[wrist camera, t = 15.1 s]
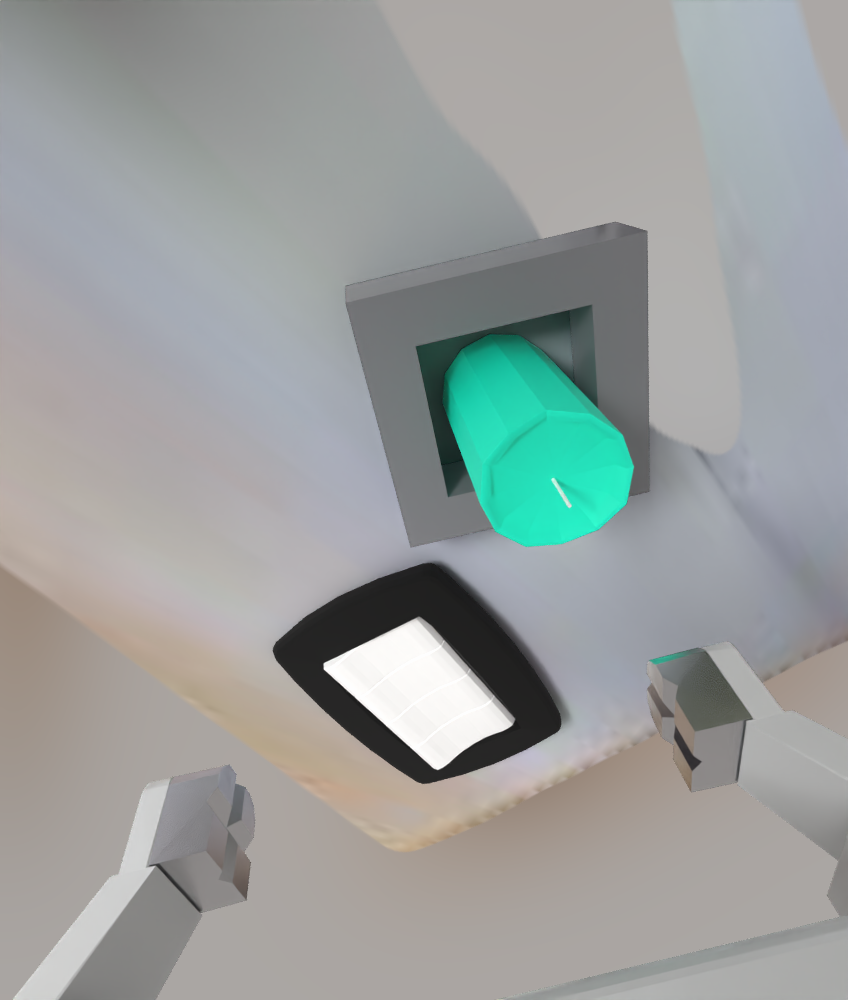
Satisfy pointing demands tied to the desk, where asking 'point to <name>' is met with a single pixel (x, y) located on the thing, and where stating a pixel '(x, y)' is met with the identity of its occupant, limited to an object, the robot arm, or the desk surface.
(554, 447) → the candle
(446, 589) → the light switch
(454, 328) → the socket block
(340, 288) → the desk surface
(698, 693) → the robot arm
